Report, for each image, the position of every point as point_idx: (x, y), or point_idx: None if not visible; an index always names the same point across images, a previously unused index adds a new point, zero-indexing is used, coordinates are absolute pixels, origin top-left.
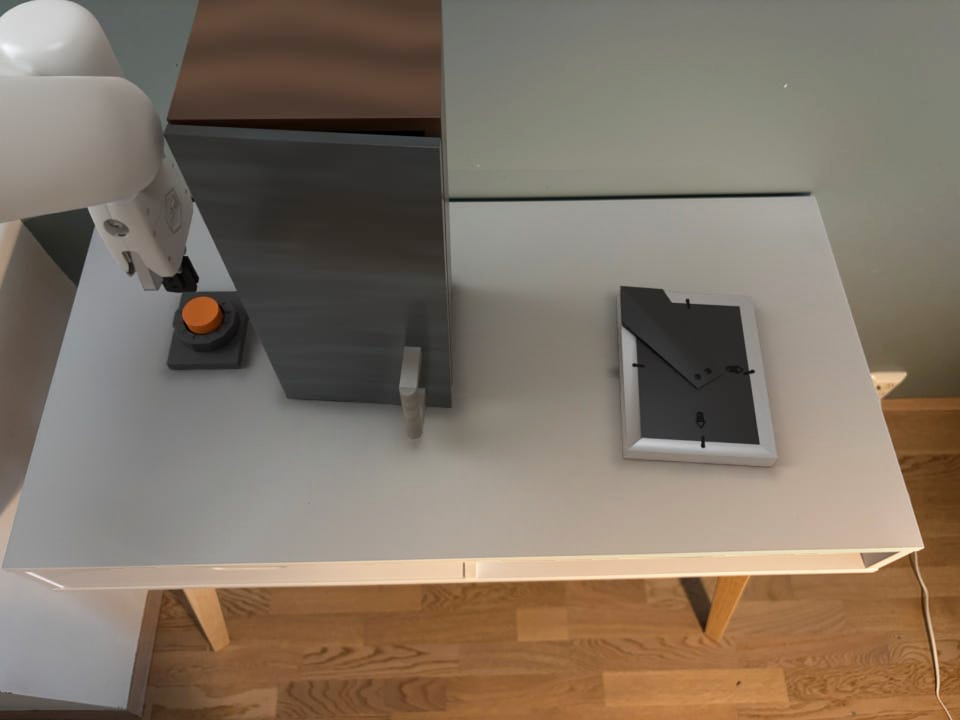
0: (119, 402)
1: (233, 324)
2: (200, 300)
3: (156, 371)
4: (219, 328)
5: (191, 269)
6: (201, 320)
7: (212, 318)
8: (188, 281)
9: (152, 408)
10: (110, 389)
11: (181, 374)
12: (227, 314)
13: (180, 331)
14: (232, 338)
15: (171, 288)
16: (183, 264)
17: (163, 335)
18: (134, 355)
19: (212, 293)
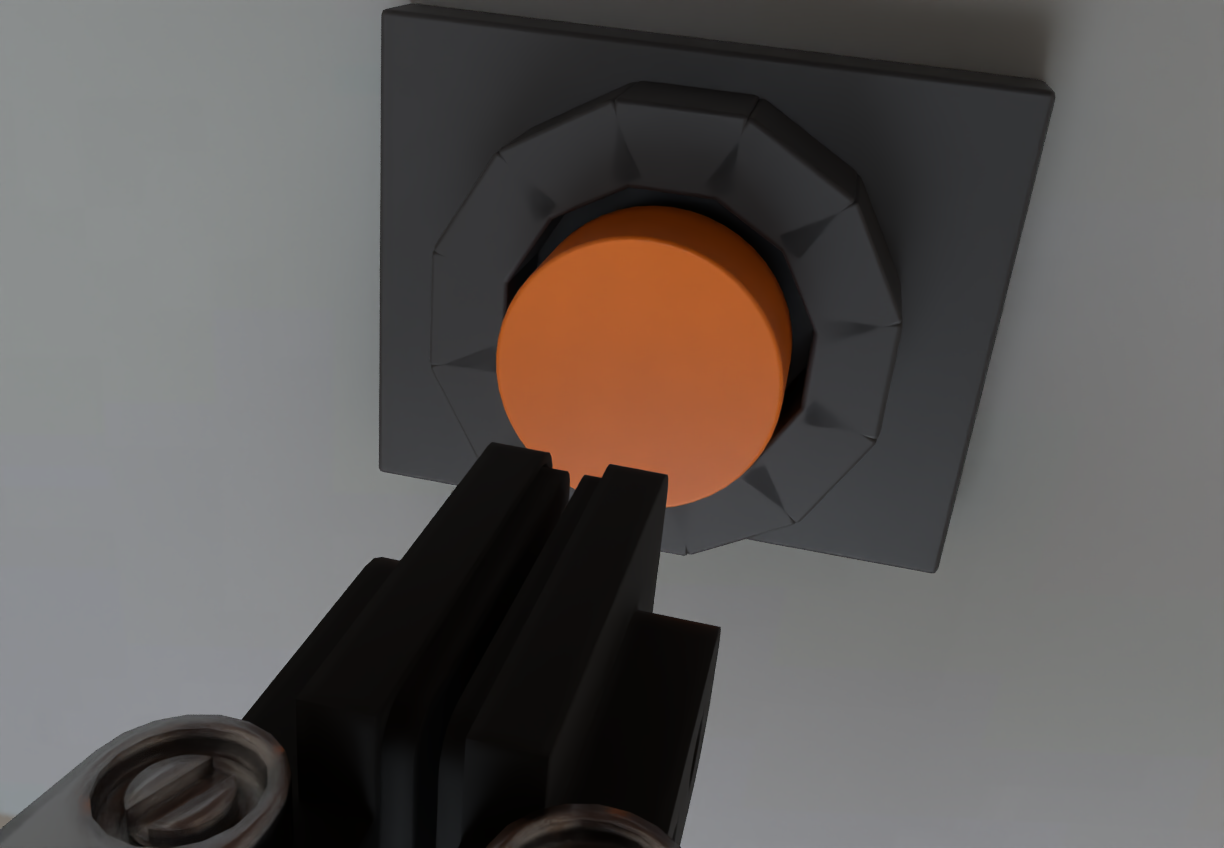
0: (1098, 793)
1: (749, 116)
2: (531, 378)
3: (928, 610)
4: (775, 230)
5: (464, 585)
6: (732, 372)
7: (723, 286)
8: (623, 604)
9: (1204, 639)
10: (993, 828)
11: (988, 475)
12: (643, 167)
13: (751, 506)
14: (812, 136)
15: (691, 775)
16: (473, 774)
17: (668, 567)
18: (785, 712)
19: (435, 284)
